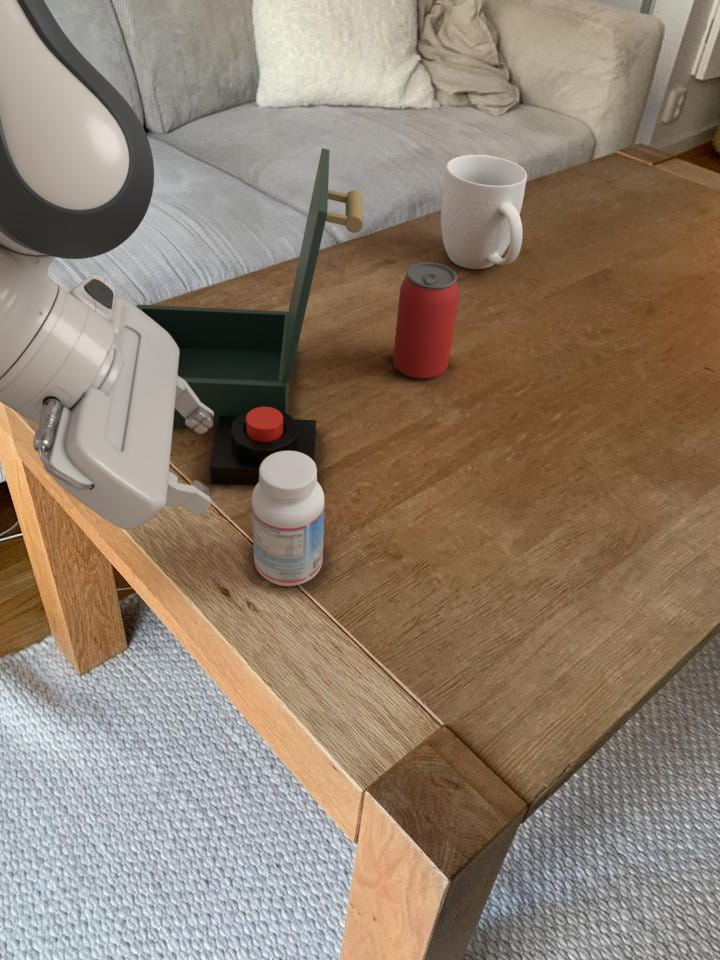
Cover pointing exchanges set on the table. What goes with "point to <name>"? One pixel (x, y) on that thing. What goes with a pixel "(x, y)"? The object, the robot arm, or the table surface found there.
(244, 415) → the control block
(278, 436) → the button
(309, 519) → the pill bottle
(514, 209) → the mug
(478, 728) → the table surface
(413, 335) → the beer can
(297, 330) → the box lid
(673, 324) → the table surface
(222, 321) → the box
